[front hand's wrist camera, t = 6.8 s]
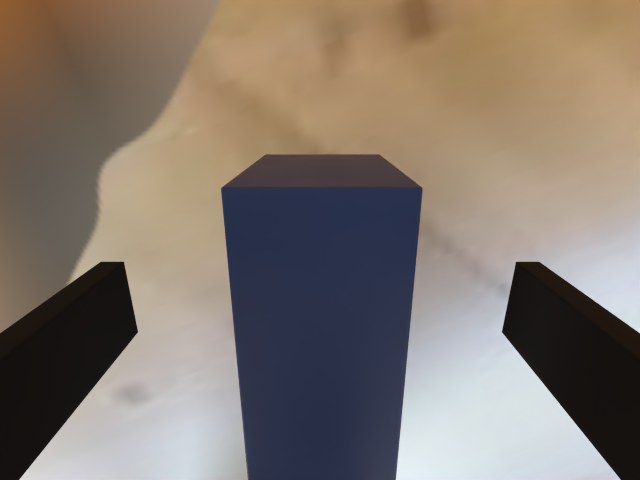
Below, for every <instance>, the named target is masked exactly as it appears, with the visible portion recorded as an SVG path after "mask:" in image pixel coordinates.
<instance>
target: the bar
mask: <svg viewBox="0 0 640 480" xmlns="http://www.w3.org/2000/svg"><path fill="white" fill-rule="evenodd" d="M422 190H423V189H422V187H420V186H419V185H418V184H417V183H415V182H414V181H413V180H411V179H410V178H409V177H408V176H406V175H405V174H404V173H402V172H401V171H400V170H399V169H397V168H396V167H395V166H393V165H392V164H391V163H390V162H388V161H387V160H386V159H384V158H383V157H382V156H380V155H264V156H263V157H262V158H261V159H259V160H258V161H257V162H255V163H254V164H253V165H251V166H250V167H249V168H247V169H246V170H245V171H243V172H242V173H241V174H239V175H238V176H237V177H235V178H234V179H233V180H231V181H230V182H229V183H227V184H226V185H225V186H223V187H222V188H221V193H222V204H223V214H224V225H225V236H226V247H227V258H228V268H229V279H230V290H231V301H232V312H233V322H234V333H235V344H236V355H237V366H238V376H239V387H240V398H241V409H242V420H243V430H244V441H245V452H246V463H247V474H248V480H396V471H397V460H398V449H399V438H400V428H401V417H402V406H403V395H404V385H405V374H406V363H407V352H408V341H409V331H410V320H411V309H412V298H413V287H414V277H415V266H416V255H417V244H418V233H419V223H420V212H421V201H422Z"/></svg>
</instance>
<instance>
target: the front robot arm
mask: <svg viewBox="0 0 640 480" xmlns="http://www.w3.org/2000/svg"><path fill="white" fill-rule="evenodd" d="M137 333H138V330H137V325H136V320H135V315H134V310H133V305H132V300H131V295H130V290H129V285H128V280H127V275H126V270H125V265H124V262H100V263H99V264H97V265H96V266H94V267H93V268H92V269H90V270H89V271H87V272H86V273H85V274H83V275H82V276H80V277H79V278H77V279H76V280H75V281H73V282H72V283H70V284H69V285H68V286H66V287H65V288H63V289H62V290H61V291H59V292H58V293H56V294H55V295H54V296H52V297H51V298H49V299H48V300H47V301H45V302H44V303H42V304H41V305H40V306H38V307H37V308H35V309H34V310H32V311H31V312H30V313H28V314H27V315H25V316H24V317H23V318H21V319H20V320H18V321H17V322H16V323H14V324H13V325H11V326H10V327H9V328H7V329H6V330H4V331H3V332H2V333H0V480H19V479H20V478H21V477H22V475H23V474H24V473H25V472H26V470H27V469H28V468H29V467H30V465H31V464H32V463H33V462H34V460H35V459H36V458H37V457H38V456H39V454H40V453H41V452H42V451H43V449H44V448H45V447H46V446H47V444H48V443H49V442H50V441H51V439H52V438H53V437H54V436H55V434H56V433H57V432H58V431H59V429H60V428H61V427H62V426H63V424H64V423H65V422H66V421H67V420H68V418H69V417H70V416H71V415H72V413H73V412H74V411H75V410H76V408H77V407H78V406H79V405H80V403H81V402H82V401H83V400H84V398H85V397H86V396H87V395H88V393H89V392H90V391H91V390H92V388H93V387H94V386H95V385H96V384H97V382H98V381H99V380H100V379H101V377H102V376H103V375H104V374H105V372H106V371H107V370H108V369H109V367H110V366H111V365H112V364H113V362H114V361H115V360H116V359H117V357H118V356H119V355H120V354H121V352H122V351H123V350H124V349H125V348H126V346H127V345H128V344H129V343H130V341H131V340H132V339H133V338H134V336H135V335H136V334H137ZM502 333H503V334H504V335H505V336H506V338H507V339H508V340H509V341H510V343H511V344H512V345H513V346H514V348H515V349H516V350H517V351H518V352H519V354H520V355H521V356H522V357H523V359H524V360H525V361H526V362H527V364H528V365H529V366H530V367H531V369H532V370H533V371H534V372H535V374H536V375H537V376H538V377H539V379H540V380H541V381H542V382H543V384H544V385H545V386H546V387H547V388H548V390H549V391H550V392H551V393H552V395H553V396H554V397H555V398H556V400H557V401H558V402H559V403H560V405H561V406H562V407H563V408H564V410H565V411H566V412H567V413H568V415H569V416H570V417H571V418H572V420H573V421H574V422H575V423H576V424H577V426H578V427H579V428H580V429H581V431H582V432H583V433H584V434H585V436H586V437H587V438H588V439H589V441H590V442H591V443H592V444H593V446H594V447H595V448H596V449H597V451H598V452H599V453H600V454H601V456H602V457H603V458H604V459H605V460H606V462H607V463H608V464H609V465H610V467H611V468H612V469H613V470H614V472H615V473H616V474H617V475H618V477H619V478H620V479H621V480H640V333H638V332H637V331H636V330H634V329H633V328H631V327H630V326H629V325H627V324H626V323H624V322H623V321H622V320H620V319H619V318H617V317H616V316H615V315H613V314H612V313H610V312H609V311H608V310H606V309H605V308H603V307H602V306H600V305H599V304H598V303H596V302H595V301H593V300H592V299H591V298H589V297H588V296H586V295H585V294H584V293H582V292H581V291H579V290H578V289H577V288H575V287H574V286H572V285H571V284H570V283H568V282H567V281H565V280H564V279H563V278H561V277H560V276H558V275H557V274H555V273H554V272H553V271H551V270H550V269H548V268H547V267H546V266H544V265H543V264H541V263H540V262H516V265H515V270H514V275H513V280H512V285H511V290H510V295H509V300H508V305H507V310H506V315H505V320H504V325H503V330H502Z"/></svg>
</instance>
